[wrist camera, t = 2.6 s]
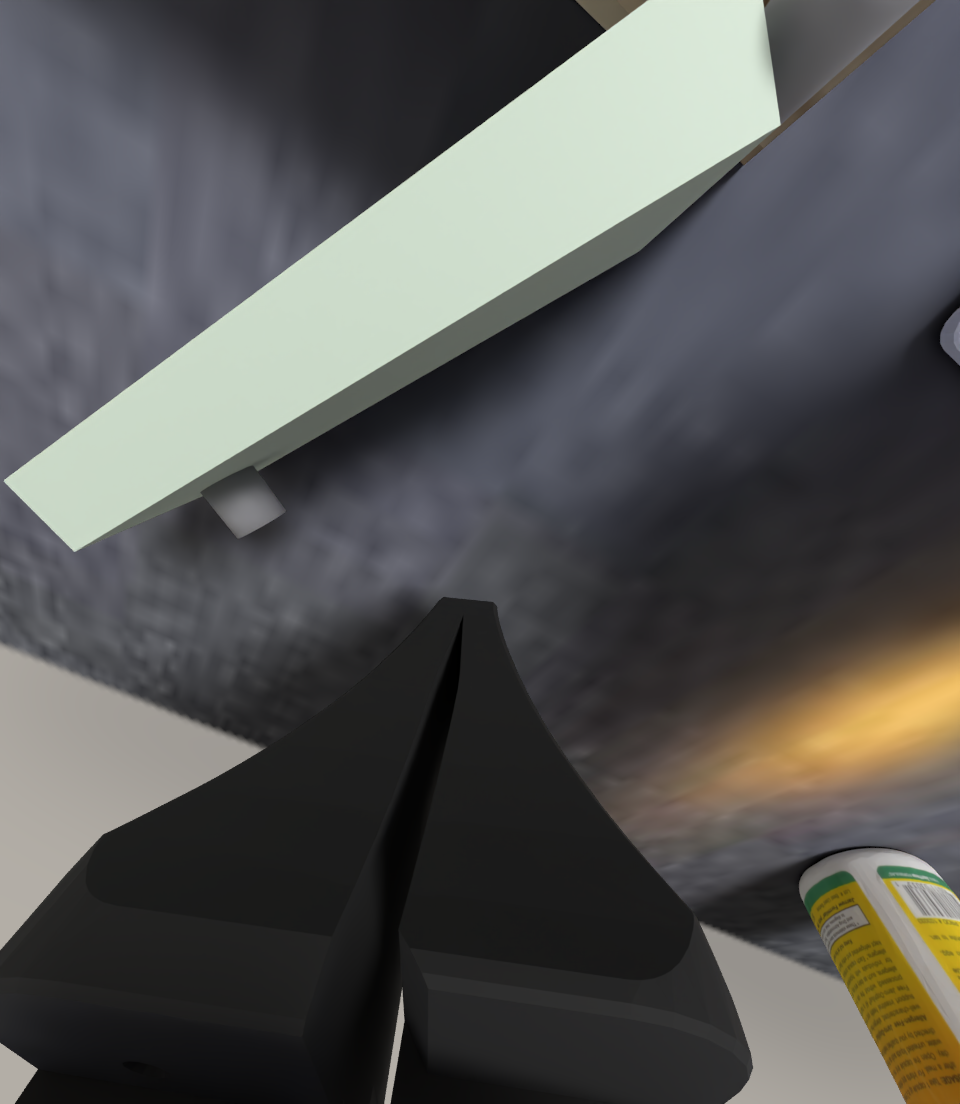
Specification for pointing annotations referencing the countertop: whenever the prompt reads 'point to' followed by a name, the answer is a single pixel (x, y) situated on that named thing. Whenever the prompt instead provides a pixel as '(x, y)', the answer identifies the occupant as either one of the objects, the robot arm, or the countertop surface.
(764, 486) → the countertop surface
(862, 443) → the countertop surface
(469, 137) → the door
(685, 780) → the countertop surface
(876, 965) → the supplement bottle
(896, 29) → the cabinet
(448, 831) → the robot arm
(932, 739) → the countertop surface
